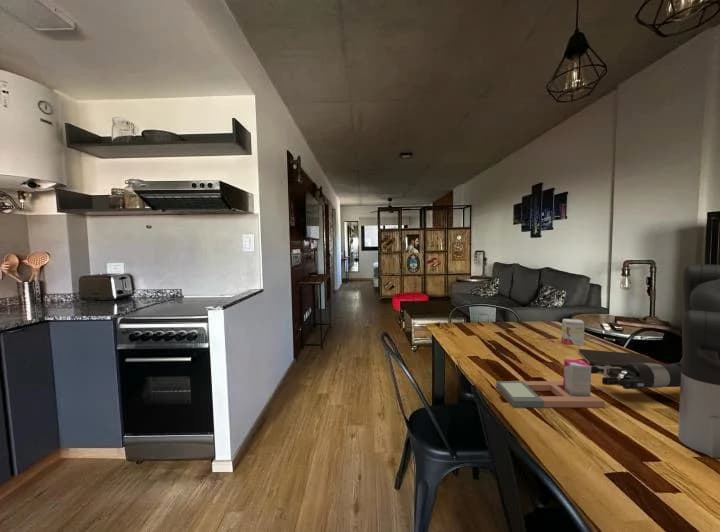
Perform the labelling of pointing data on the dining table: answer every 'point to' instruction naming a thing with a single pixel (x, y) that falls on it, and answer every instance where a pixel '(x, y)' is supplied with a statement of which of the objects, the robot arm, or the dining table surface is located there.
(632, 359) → the hardcover book
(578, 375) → the supplement box
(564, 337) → the ink box
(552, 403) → the board
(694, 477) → the dining table surface
